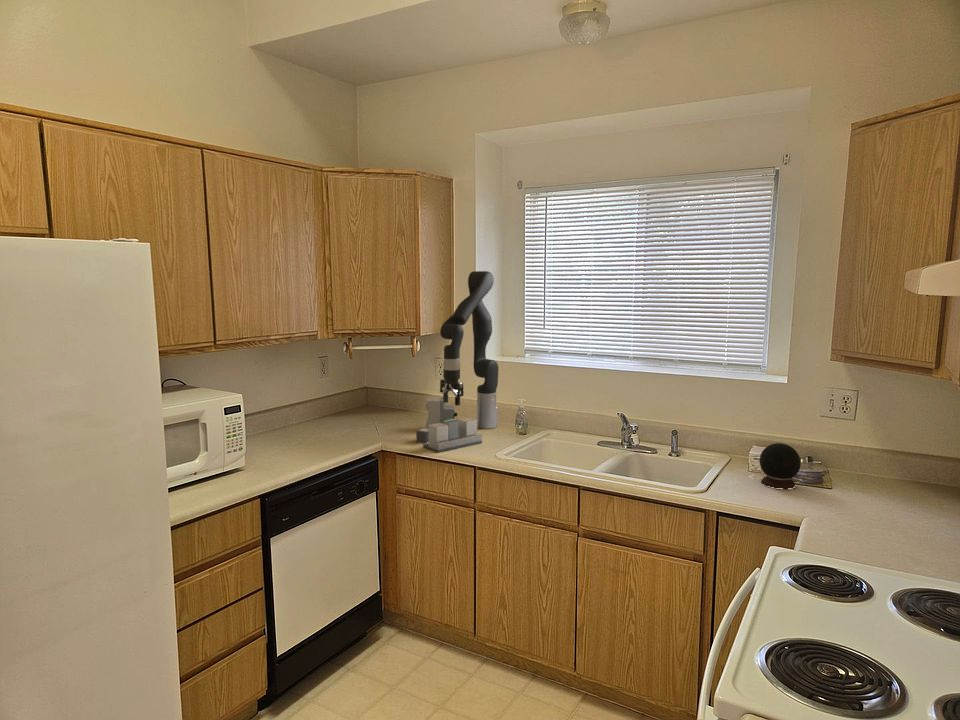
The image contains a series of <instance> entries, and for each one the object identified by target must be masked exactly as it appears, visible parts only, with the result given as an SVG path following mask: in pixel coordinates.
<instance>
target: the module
mask: <svg viewBox="0 0 960 720" xmlns="http://www.w3.org/2000/svg"><path fill="white" fill-rule="evenodd" d="M458 419H459V418H454V419H449V420H445V421H443V424H445V425H448V439H452V438H457V437H458Z"/></svg>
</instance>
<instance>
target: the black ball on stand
mask: <svg viewBox="0 0 960 720" xmlns="http://www.w3.org/2000/svg"><path fill="white" fill-rule="evenodd" d="M801 464H802V462H801V457H800V455H799V453H798V452H797V450H796V449H795V448H793V447H792V446H791V445H789V444H786V443H782V442H778V443H777V442H776V443H772V444H771V443H770V444H769V445H767V446H766V447H765V448H764V449H763V450H762V451H761V453H760V455H759V466H760V469H761V470H762V472H763V474H764V475H766V476H764V477H763V478H761V480H760V483H762V484H764V485H766V486H770V487H774V488H783V489H788V488H793V487H794V486H795V484H796V483H795V481H794V480H793V478H795V477H796V476H797V474H799V471H800V469H801V466H802V465H801ZM762 484H761V485H762ZM764 485H763V486H764ZM766 486H765V487H766Z"/></svg>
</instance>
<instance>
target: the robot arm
mask: <svg viewBox="0 0 960 720" xmlns="http://www.w3.org/2000/svg"><path fill="white" fill-rule="evenodd" d="M494 283H495V280H494V275H493V274H492V272H490V271H487V270H482V271H481V270H479V271H474V270H473V271H471V272H470V273H469V275H468V278H467V285H468V286H467V288H468V293H469V295H468V296H467V297H466V298H464V299H463V300H462V301H461V302H460V303H459V304H458V305H457V307H456V308H455V310H454V312H453V314H452V315H450V316H449V317H448V318H447V319H446V321H444V322H443V323H442V325H441V327H440V331H439V333H440V337H442V338H443V339H444V340H450V344H447V345H445V346H444V348H443V363H442V364H443V367H442V370H443V371H442V377H443V378H442V379H440V382H439V383H440V384H439V393H442V398H443V402H444V403H445V404H447V403H449V393H450V392H452V394H453V395H454V406H458V407H459V406H460V405H461V397H464V395H465V394H464V383H463V382H459V380H460V379H461V359H460V356H461V355H460V350H461V346H462V342H463V339H464V335H465V334H464V333H465V332H464V328H463V326H464V325H465V324H467V322H468V320H469V319H470V317H472V321H471V322H472V334H473V371H474V374H475V376H476V377H478V378H482V379H484V381H483V383H482V384H479V385H478V386H476V387H477V388H476V391H477V392H476V409H477V410H476V420H477V429H478V428H479V429H486V430H488V429H495V428H496V427H498V420H499V419H498V416H499V414H498V413H499V411H498V410H499V408H498V406H497V388H498V384H499V364H498V362H497V361H496V360H495V359H489V358H487V357H486V354H487V353H486V352H487V351H486V349H487V345H488V343H489V341H490V339H491V336H492V335H493V334H492V333H493V319H492V316H491V314H490V312H489V311H488V308H487V307H486V306H485V304H484V301H483V299H484V298H485V297H486V296H487V294H488V293H489V292H490V291H491V290H492V288H493V287H494ZM471 315H472V316H471ZM442 338H441V339H442Z"/></svg>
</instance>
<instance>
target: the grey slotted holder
mask: <svg viewBox="0 0 960 720" xmlns="http://www.w3.org/2000/svg"><path fill="white" fill-rule="evenodd" d="M457 419H458V437H457V438H452V439H448V425H445V424H442V423H436V424H431V425H429V442H428V443H422V448H424V449H427V450H429V451H432V452H435V453H438V454H439V453H444V452H448V451H452V450H453V451H454V450H458V449H462V448H466V447H472V446H474V445H475V446H476V445H480V444H482V443H483V434H478V427H477V418H476V419H475V418H471V417H465V418H457Z"/></svg>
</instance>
